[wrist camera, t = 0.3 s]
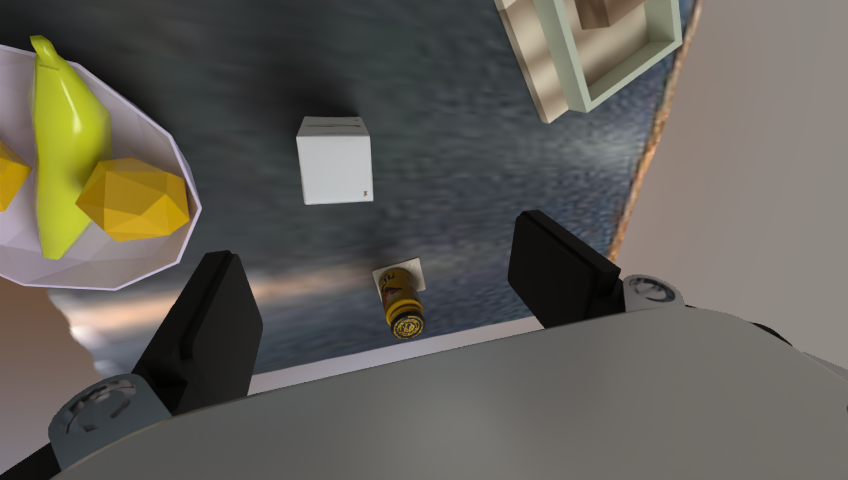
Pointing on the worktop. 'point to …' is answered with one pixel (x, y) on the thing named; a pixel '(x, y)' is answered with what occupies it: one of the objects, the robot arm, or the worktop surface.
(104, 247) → the fruit bowl
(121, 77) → the worktop surface
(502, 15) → the board
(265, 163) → the worktop surface
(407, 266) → the condiment
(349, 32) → the worktop surface
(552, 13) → the low bay
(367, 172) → the supplement box
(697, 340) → the robot arm
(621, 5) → the walnut block
